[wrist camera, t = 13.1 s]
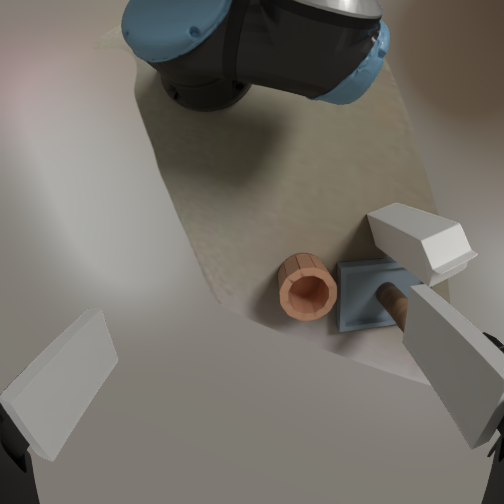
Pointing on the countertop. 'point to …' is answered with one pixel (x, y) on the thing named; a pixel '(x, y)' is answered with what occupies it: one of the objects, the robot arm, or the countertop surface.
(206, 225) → the countertop surface
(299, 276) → the cup
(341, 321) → the tray
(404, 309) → the baguette
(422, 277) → the milk
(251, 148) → the countertop surface
